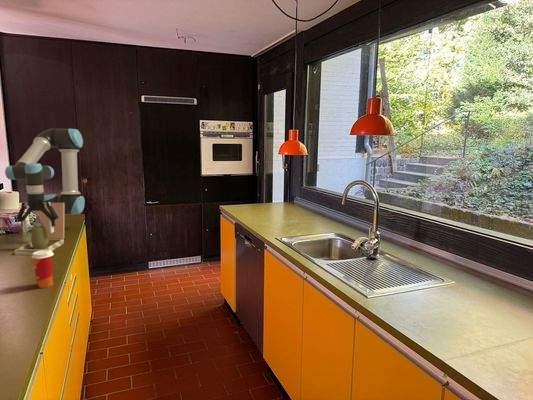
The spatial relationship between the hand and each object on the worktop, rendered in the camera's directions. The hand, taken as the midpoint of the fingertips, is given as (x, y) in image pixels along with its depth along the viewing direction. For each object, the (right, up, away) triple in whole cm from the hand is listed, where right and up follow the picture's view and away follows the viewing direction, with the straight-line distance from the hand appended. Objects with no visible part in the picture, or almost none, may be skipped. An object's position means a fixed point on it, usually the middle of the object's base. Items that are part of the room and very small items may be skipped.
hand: (38, 232), depth 198 cm
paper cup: (+31, -18, -46) cm, 59 cm away
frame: (0, -9, +2) cm, 9 cm away
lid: (-1, +6, +11) cm, 13 cm away
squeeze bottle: (0, -9, +2) cm, 9 cm away
